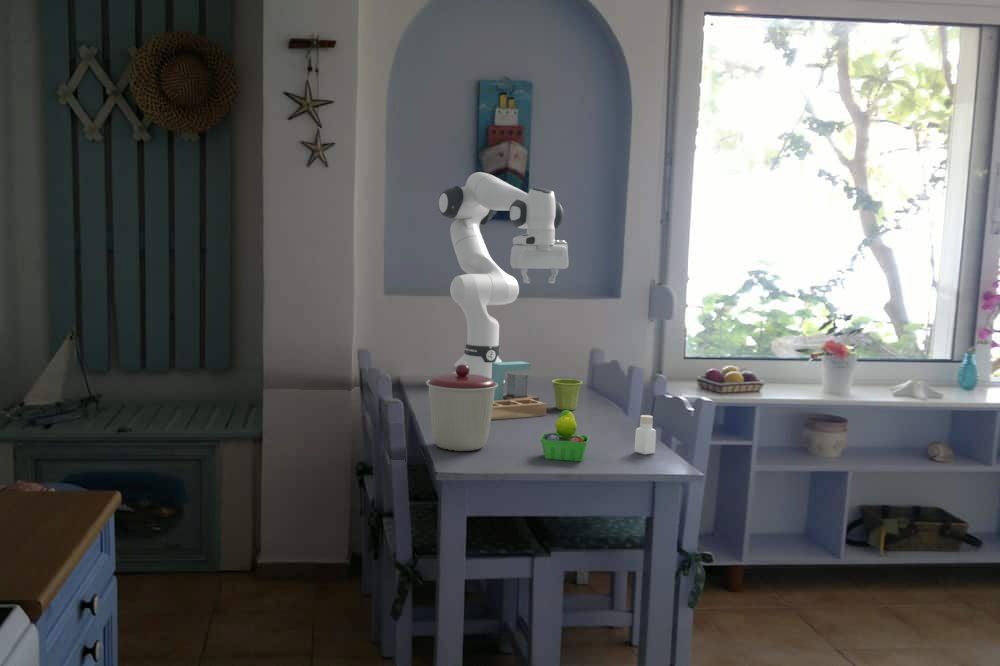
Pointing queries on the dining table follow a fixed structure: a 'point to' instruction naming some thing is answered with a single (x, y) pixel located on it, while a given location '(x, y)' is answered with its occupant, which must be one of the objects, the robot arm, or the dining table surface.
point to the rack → (517, 408)
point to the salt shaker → (645, 436)
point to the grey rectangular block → (517, 385)
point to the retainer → (498, 374)
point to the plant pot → (566, 393)
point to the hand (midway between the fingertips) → (539, 283)
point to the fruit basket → (564, 440)
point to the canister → (461, 409)
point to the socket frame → (520, 398)
